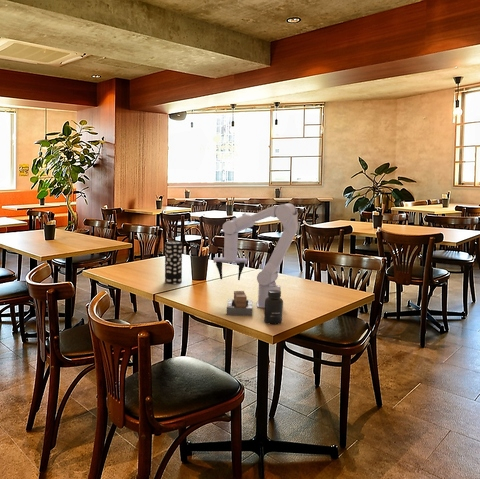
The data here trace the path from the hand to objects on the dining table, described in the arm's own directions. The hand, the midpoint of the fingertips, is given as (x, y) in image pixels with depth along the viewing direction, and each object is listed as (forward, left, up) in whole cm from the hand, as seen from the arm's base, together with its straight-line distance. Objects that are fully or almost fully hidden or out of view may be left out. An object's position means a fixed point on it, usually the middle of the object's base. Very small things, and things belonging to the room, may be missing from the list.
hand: (230, 279), depth 202 cm
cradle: (-5, +15, -9) cm, 18 cm away
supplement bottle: (-18, +28, -10) cm, 35 cm away
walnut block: (-5, +15, -8) cm, 18 cm away
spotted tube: (+30, -30, -10) cm, 43 cm away
